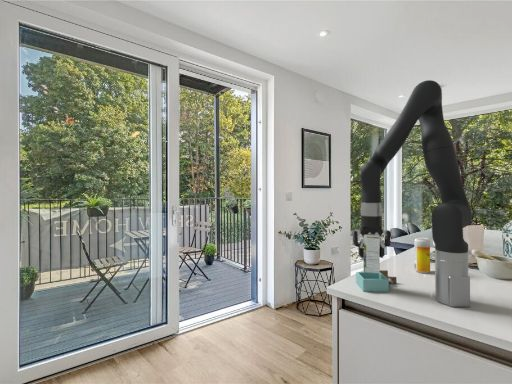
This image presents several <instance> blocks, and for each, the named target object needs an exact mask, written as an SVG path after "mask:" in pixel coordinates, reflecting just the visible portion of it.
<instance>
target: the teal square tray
mask: <svg viewBox="0 0 512 384" xmlns="http://www.w3.org/2000/svg"><path fill="white" fill-rule="evenodd" d="M355 283H356V285H357V286H358V287H359V288H360V290H361V291H362V292H365V293H366V292H368V293H370V292H371V291H372V292H373V293H374V292H378V293H379V292H381V293H382V292H387V293H388V292H389V291H390V288H389V287H390V283H389V279H388V278H386V277H385V276H384V275H383V274H381V273H367V272H364V271H356V272H355Z"/></svg>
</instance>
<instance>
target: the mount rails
mask: <svg viewBox="0 0 512 384" xmlns="http://www.w3.org/2000/svg"><path fill="white" fill-rule="evenodd" d="M388 272H389V270H388V269H386V270H384V269H383V270H382V269H381V270H380V273H381V274H383V275H384V276H385V277H386V278H388V279H389V284H397V277H396V276H389V273H388Z"/></svg>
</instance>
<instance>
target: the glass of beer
mask: <svg viewBox="0 0 512 384" xmlns="http://www.w3.org/2000/svg"><path fill="white" fill-rule="evenodd" d="M414 238H415V239H414V243H413V245H414V251H413V252H414V253H413V254H414V255H413V257H414V259H413V260H414V264H413V265H414V271H415V272H416V273H419V274H426V275H427V274H429V273H430V272H431V241H430V238H429V237H421V236H419V237H418V236H417V237H414Z"/></svg>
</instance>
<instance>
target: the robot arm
mask: <svg viewBox="0 0 512 384" xmlns="http://www.w3.org/2000/svg"><path fill="white" fill-rule="evenodd" d="M418 122H419V125H420V129H421V130H420V131H421V133H420V135H421V148H422V154H423V160H424V164H425V167H426V169H427V171H428V173H429V175H430V177H431V178H432V180H433V182H434V184H435V185H436V187H437V189H438V191H439V195H440V199H441V200H440V201H441V203H438V204H437V205H435V207H433V209H432V212H431V217H430V218H431V219H430V220H431V236H432V241H433V243H434V280H435V281H434V288H435V290H434V294H435V296H434V297H435V300H436V301H437V302H439V303H440V304H443V305H446V306H448V307H452V308H453V307H455V308H456V307H458V308H459V307H462V308H463V307H464V308H465V307H466V308H469V307H471V278H470V277H469V244H468V242H467V241H466V240H465V239H464V229H463V228H466V227H468V226H469V225H470V224H471V222H472V219H473V213H472V209H471V206H470V203H469V200H468V198H467V195H466V192H465V190H464V187H463V182H462V177H461V173H460V168H459V164H458V158H457V153H456V149H455V145H454V142H453V139H452V137H451V134H450V132H449V130H448V127H447V125H446V123H445V119H444V112H443V90H442V87H441V85H440V84H439V83H438V82H437V81H434V80H431V79H430V80H424V81H421V82H420V83H418V84H417V85H416V86H415V87H414V88H413V90H412V92H411V94H410V96H409V98H408V99H407V102H406V104H405V105H404V107H403V109H402V111H400V114H399V115H398V117H397V118H396V120H395V122H394V123H393V125H392V126H391V127H390V129H389V130H388V132H387V133H386V134H385V136H383V138H382V139H381V141H380V143H378V145H377V147H376V148H375V149H374V153H373V154H372V156H371V157H370V158H369V160H368V161H367V162H365V163H364V164H363V165H362V166H361V168H360V173H359V174H360V175H359V176H360V185H361V197H360V198H361V205H360V229H359V230H355V229H352V245H354V246H355V247H357V249H358V256H359V257H360V258H362V259H363V257H364V248H363V246H364V235H365V234H367V235H371V234H375V235H380V258H381V259H384V257H385V248H387V247H390V246H391V237H392V236H391V234H392V233H391V230H388V229H385V230H384V229H383V208H382V192H381V191H382V190H381V175H382V174H383V172H384V171H385V169H386V168H387V167H388V164H389V163H390V162H391V161H392V160H393V158H394V157H395V156H396V155H397V153H398V152H399V151H400V150H401V148H402V147H403V145H404V144H405V142H406V140H407V139H408V137H409V135H410V133H411V132H412V130H413V128H414V126H415V125H416V123H418ZM360 235H361V238H360V241H359V236H360ZM382 235H383V236H384V240H383V239H382V237H381V236H382ZM383 241H384V242H383Z"/></svg>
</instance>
